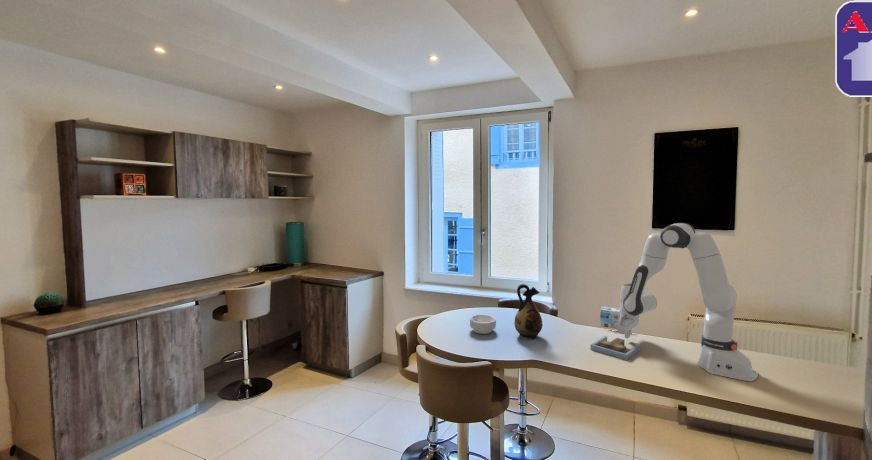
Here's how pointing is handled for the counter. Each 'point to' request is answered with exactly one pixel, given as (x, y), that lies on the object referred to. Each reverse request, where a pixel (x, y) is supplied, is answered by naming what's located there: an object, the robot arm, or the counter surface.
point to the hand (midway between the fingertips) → (627, 337)
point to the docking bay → (626, 356)
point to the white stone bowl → (482, 323)
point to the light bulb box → (609, 317)
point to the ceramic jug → (527, 315)
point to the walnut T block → (614, 345)
